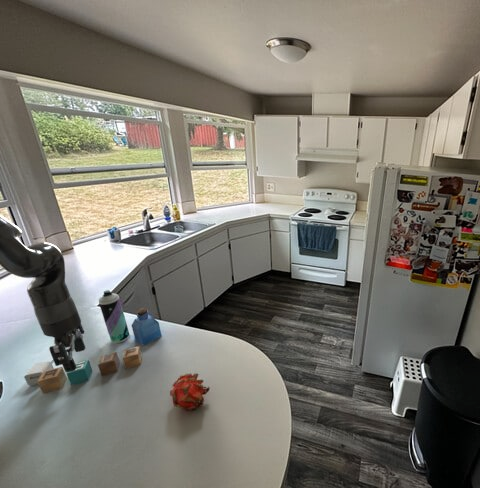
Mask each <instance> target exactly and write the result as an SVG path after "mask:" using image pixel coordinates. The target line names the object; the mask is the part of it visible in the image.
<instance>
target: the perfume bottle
mask: <svg viewBox="0 0 480 488" xmlns="http://www.w3.org/2000/svg"><path fill="white" fill-rule="evenodd" d="M131 330H132V333H133V336H134V339H135V340H136V341H137V342H138V343H140V344H141V345H142V346H146V345H147V344H150V343H152V342H154V341H155V340H157V339H159V338H160V337H162V331H161V326H160V323H159V321H157V319H156V318H154V317H153V316H151V315H150V313H149V310H148V308H147V307H142V308H139V309H137V310H136V317H135V319H133V322H132V323H131Z"/></svg>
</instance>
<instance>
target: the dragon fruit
mask: <svg viewBox="0 0 480 488" xmlns="http://www.w3.org/2000/svg"><path fill="white" fill-rule="evenodd" d="M199 375H200V374H199V373H194V374H192V373H188V372H187V373H185V374H183V375H180V376H179V377H177V380H175V381H174V382H173V383H172V387H173V388H172V389H171V390H170V391H169V394H170V397H171V400H172V403H173V407H175V408H179V409H181V410H186V411H187V412H195V411H196V408H201V407H202V406H203V405H204V402H205V398H204V396H205V395H206V394H207V393H208V392H209V391H210V386H209V385H208V386H207V387H206V386H204V385H203V383H204V379H198V377H199Z"/></svg>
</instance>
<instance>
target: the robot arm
mask: <svg viewBox="0 0 480 488" xmlns="http://www.w3.org/2000/svg"><path fill="white" fill-rule="evenodd" d="M22 235H23V231H22V229H21V228H19V227H18V226H17V225H15V224H14V223H12V222H11V221H10V220H8V219H7V218H6V217H4V216H3V215H1V214H0V267H1V268H3V270H5V271H6V272H7V273H9V274H11V275H13V276H15V277H19V278H22V279H23V278H24V279H32V280H31V282H30V283H29V284H28V285H27V289H26V292H27V293H26V294H27V295H28V298H29V300H30V302H31V305H32V307H33V312H34V315H35V317H36V319H37V322H38V325H39V326H40V328H41V331H42V333H43V335H44V336H46V337H50V338H54V339H53V343H54V345H50V346H49V352H50V355H51V357H52V360H53V361H54V362H53V364H54V365H55V366H56V367H59V366H61V365H62V367H63V370H64V372H65V373H67V372H70V371H73V370H75V369H76V364H75V363H76V362H75V360H74V357H73V352H76V353H80V352H83V351H85V350H86V345H85V342H84V340H83V339H84V334H85V329H84V327H83V325H82V319H81V317H80V313H79V311H78V308H77V306H76V303H75V301H74V299H73V298H72V295H71V294H70V290H69V288H68V285H67V283H66V262H65V258H64V257H65V256H64V255H63V253H62V251H61V250H60V249H59V247H57V246H56V245H54V244H52V243H49V242H35V243H32V244H31V245H29V246H25V245H24V244H23V243H22V242H21V241H20V238H21V236H22Z"/></svg>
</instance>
